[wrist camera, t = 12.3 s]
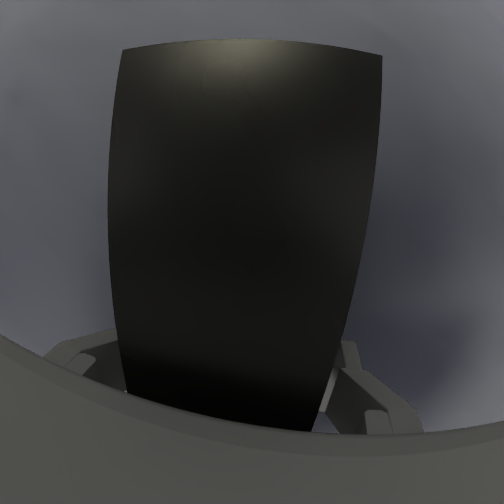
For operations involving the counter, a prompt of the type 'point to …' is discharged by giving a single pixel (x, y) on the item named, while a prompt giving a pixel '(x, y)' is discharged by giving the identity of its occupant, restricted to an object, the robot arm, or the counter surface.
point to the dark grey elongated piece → (239, 220)
